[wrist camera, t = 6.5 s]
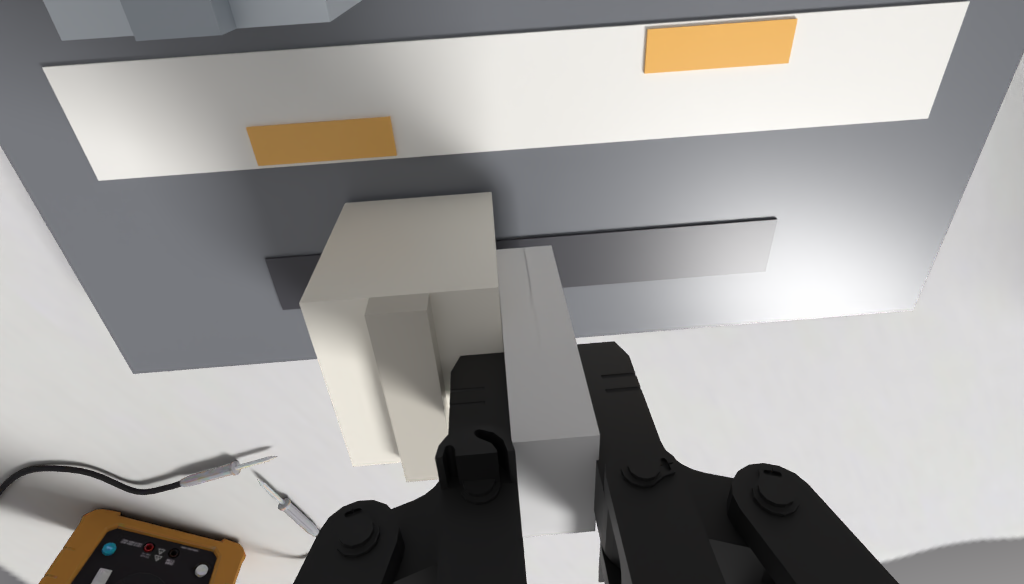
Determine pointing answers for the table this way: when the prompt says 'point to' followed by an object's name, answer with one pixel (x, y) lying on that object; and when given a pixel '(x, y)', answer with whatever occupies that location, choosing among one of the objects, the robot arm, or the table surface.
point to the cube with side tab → (183, 16)
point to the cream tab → (403, 320)
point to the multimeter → (149, 541)
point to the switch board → (510, 154)
